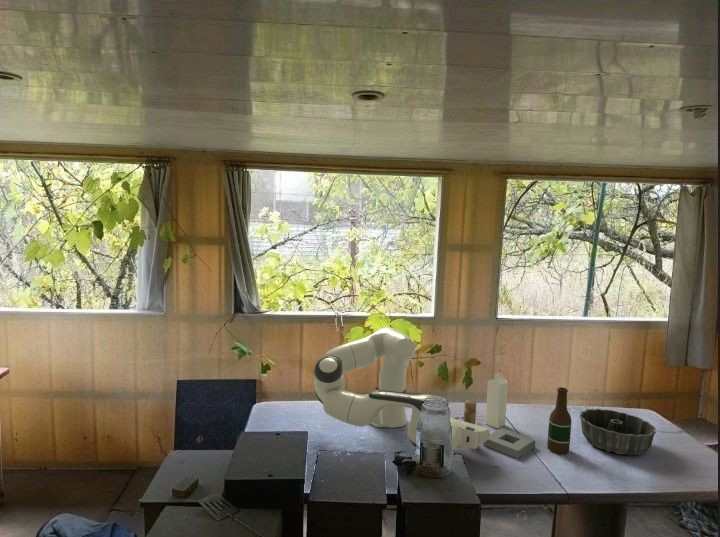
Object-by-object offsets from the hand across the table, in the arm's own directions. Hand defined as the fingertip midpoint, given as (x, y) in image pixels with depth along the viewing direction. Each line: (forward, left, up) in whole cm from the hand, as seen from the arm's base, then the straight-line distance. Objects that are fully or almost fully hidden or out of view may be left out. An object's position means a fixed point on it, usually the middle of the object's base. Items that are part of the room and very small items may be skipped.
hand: (468, 421), depth 181 cm
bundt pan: (+38, +44, -9) cm, 59 cm away
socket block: (+11, +11, -9) cm, 18 cm away
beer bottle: (+25, +22, -9) cm, 35 cm away
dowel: (-1, +1, -9) cm, 9 cm away
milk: (-3, +25, -9) cm, 27 cm away
